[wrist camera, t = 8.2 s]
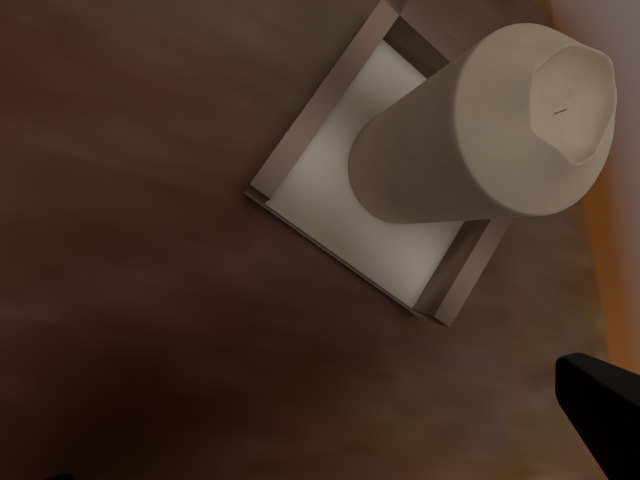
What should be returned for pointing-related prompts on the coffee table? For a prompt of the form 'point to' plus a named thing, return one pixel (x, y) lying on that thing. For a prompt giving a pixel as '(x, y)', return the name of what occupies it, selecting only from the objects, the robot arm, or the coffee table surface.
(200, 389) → the coffee table surface
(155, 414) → the coffee table surface
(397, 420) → the coffee table surface
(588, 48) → the candle
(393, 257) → the dock bay
